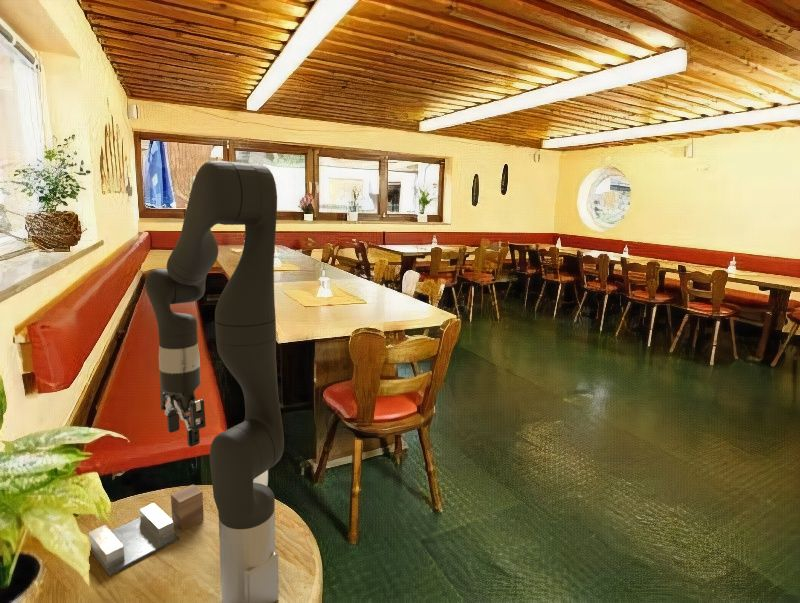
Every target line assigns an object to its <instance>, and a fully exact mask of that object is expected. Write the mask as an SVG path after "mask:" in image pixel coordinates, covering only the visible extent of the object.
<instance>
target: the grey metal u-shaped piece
mask: <svg viewBox="0 0 800 603" xmlns="http://www.w3.org/2000/svg"><path fill="white" fill-rule="evenodd" d="M89 538H90V541H91V550H90V552H91V553H92V554H93V556H94V557H95V559H96V560H97V561H98V563H99V564H100V565H101V566H102V568H103V569H104V571H105V572H106V573H107V574H108V576H109V577H111V576H113V575H114V574H116V573H118V572H120V571H122V570H124V569H126V568H127V567H129V566H132V565H133V564H135V563H137V562H139V561H141V560H143V559H145V558H147V557H149V556H151V555H152V554H154V553H157V552H158V551H160V550H162V549H165V547H168V546H170V545H171V544H173V543H175V542H177V541H179V540H180V538H179V536H178V535H177V533H176V532H175V525H174V521H173V520H172V518H171V517H170V516H168V515H167V513H165V512H164V510H162V509H161V508H160V507H159V505H157V504H156V503H155V502H152V503H150V504H148V505H147V506H144V507H142V508H139V517H138V518H136V519H134V520H131V521H129V522H126V523H125V524H122V525H121V526H118V527H116V528H114V529H109V527H108V526H107V525H106V524H104V525H102V526H99V527H97V528H95V529H93V530H91V531H89V532H88V539H89Z"/></svg>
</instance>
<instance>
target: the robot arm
mask: <svg viewBox="0 0 800 603" xmlns="http://www.w3.org/2000/svg"><path fill="white" fill-rule="evenodd" d="M193 179H194V180H193V182H192V186H191V188H190V192H189V198H188V201H187V205H186V209H185V214H184V217H183V218H184V219H183V223H182V227H181V231H180V235H179V238H178V240H177V242H176V244H175V245H174V248H173V250H172V251H171V253H170V255H169V256H168V259H167V262H166V268H165V267H164V268H155V269H153V270H151V271H150V272H149V273H147V276H146V277H145V281H144V286H145V287H144V289H145V291H146V295H147V297H148V299H149V302H150V304H151V306H152V309H153V312H154V316H155V319H156V324H157V328H158V343H159V346H158V348H159V349H158V368H159V383H160V384H159V385H160V386H159V387H160V388H159V390H160V391H159V394H160V409H161V411H164V414H165V416H166V419H167V422H166V423H167V432H169V433H170V434H171V433H174V432H178V431H179V430H180V420H181V421H182V422H184V424H185V426H186V437H187V440H186V441H187V446H188V447H190V448H192V447H195V446H197V445H199V444H201V443H200V442H201V440H200V438H201V437H200V429H203V428H206V426H207V425H206V423H207V422H206V413H205V401H204V399H202V398H200V399H197V398H196V394H195V391H196V389H198V388H199V387H200V386H201V383H202V381H201V380H202V378H201V359H200V358H201V356H200V348H199V343H198V341H199V340H198V322H197V318H196V316H195V315H193V314H190V313H184V312H173V311H172V309H171V305H176V304H185V303H193V302H196V301H198V300H200V299H201V298H203V297H204V296H205V292H206V280H207V277H208V276H207V275H209V273H210V271H211V269H212V268H213V267H214V266H215V264H216V262H217V259H218V256H219V245H218V241H217V238H216V237H215V234H214V233H213V231H212V228H213V227H215V226H217V225H223V226H235V225H237V226H238V225H239V226H241V225H242V226H244V238H243V239H244V240H243V248H242V253H241V255H240V258H239V261H238V263H237V265H236V267H235V269H234V270H233V272H232V275H231V276H230V278H229V280H228V281H227V283H226V285H225V287H224V289H223V290H222V292H221V294H220V296H219V298H218V301H217V303H216V306H215V310H214V323H215V324H214V325H215V326H214V328H215V343H216V350H217V354H218V356H219V358H220V360H221V361H222V362H223V364H224V366H225V367H226V368H227V370H228V371H229V372H230V374H231V375H232V376H233V378H234V379H235V380H236V381H237V383H238V385H239V386H240V389H241V390H242V393H243V398H244V409H245V410H244V420H243V421H242V422H241V423H238V424H237V425H234V426H232V427H230V428H228V429H226V430H224V431H222V432H221V433H219V434H217V435H216V436H215V437H214V438H213V440H212V441H211V444H210V448H209V466H210V473H211V474H210V475H211V484H212V494H213V499H214V500H213V501H214V503H215V505H216V508H217V513H218V530H219V531H218V532H219V533H218V534H219V535H218V536H219V561H220V564H219V565H220V585H221V590H220V591H221V603H276V602H277V601H278V600H279V597H280V596H279V554H278V553H277V552H276V516H275V515H276V511H275V510H276V508H275V507H276V503H275V502H276V500H275V493H274V492H273V490H272V489H271V488H270V487H269V486H268V485H267V486H266V485H263V484H259V483H253V480H254V479H255V478H256V477H258V476H259V475H261V474H262V473H264V472H265V471H267V470H268V471H269V470H270V469H271V468H273V467H274V466H275V465H276V464H278V462H279V461H280V460H281V458H282V456H283V454H284V449H285V436H284V427H283V419H282V414H281V407H280V406H281V405H280V398H279V389H278V388H279V385H278V369H277V321H276V304H275V302H276V301H275V248H276V247H275V246H276V235H277V234H276V232H277V218H278V192H277V191H278V190H277V184H276V180H275V176H274V175H273V172H272V171H271V170H270V169H269V168H268V167H267V166H265V165H262V164H256V163H246V162H237V161H227V160H210V161H206V162H204V163H203V164H202V165H201V166H200V168H198V171H197V172H196V173H195V176H194V178H193Z"/></svg>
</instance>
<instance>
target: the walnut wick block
mask: <svg viewBox="0 0 800 603" xmlns="http://www.w3.org/2000/svg"><path fill="white" fill-rule="evenodd" d="M203 495H204V494H203V491H202V490H201V489H200V488H199V487H197V486H196V485H195V484H191V485H189V486H186V487H184V488H181V489H180V490H177V491H174V492H172V493H171V494H170V504H171V505H170V506H171V519H172V520H173V521H174V527H176V528H177V529H179V531H180V532H183V531H185V530H188V529H189V528H191V527H193V526H195V525H196V524H199V523H200V521H201V522H203V521H204V520H205V519H204V518H205V517H204V516H205V515H204V499H203V498H204V496H203ZM202 520H203V521H202ZM198 522H199V523H198Z"/></svg>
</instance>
